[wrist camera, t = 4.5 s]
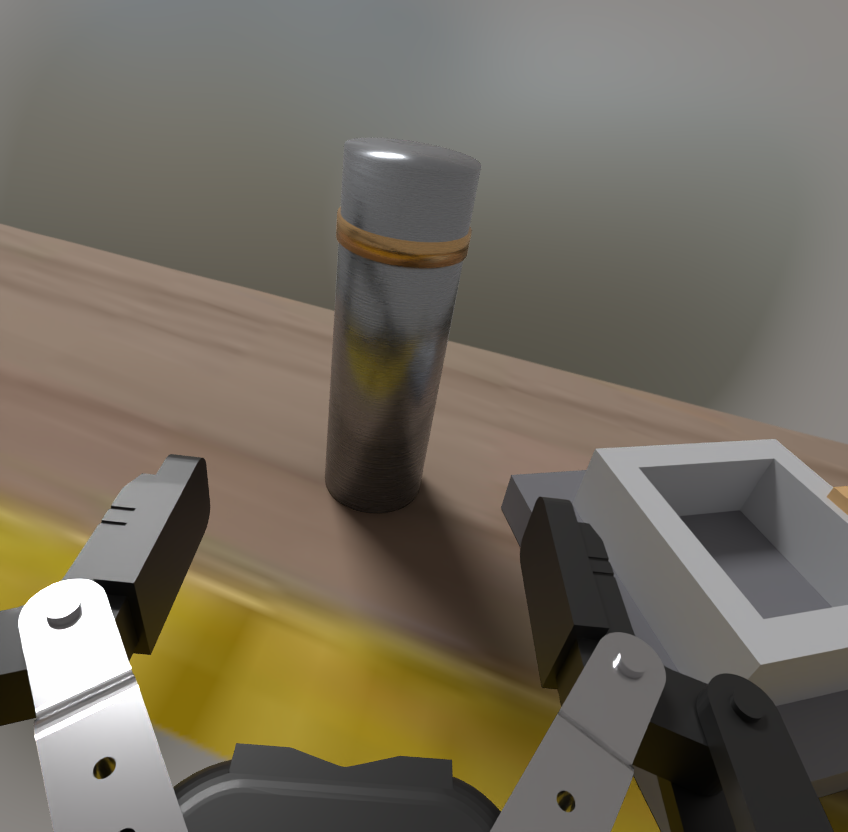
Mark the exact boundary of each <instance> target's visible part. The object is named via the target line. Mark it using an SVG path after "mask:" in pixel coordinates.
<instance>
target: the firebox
mask: <svg viewBox="0 0 848 832" xmlns="http://www.w3.org/2000/svg"><path fill="white" fill-rule="evenodd" d="M538 497H549V498H557V499H566V500H570V501H571V503H572V505H573V508H574V511H575V515H576V518H577V521H578V522H581V523H589V524H590V525H591V526H592V528H593V529H594V530H595V531H596V533H597V534H598V535H599V536H600V538H601V539H602V540H603V543H604V546H605V549H606V552H607V555H608V557H609V562H610V563H611V566H612V569H613V572H614V577H615V578H616V581H617V584H618V587H619V590H620V593H621V596H622V599H623V602H624V605H625V608H626V611H627V614H628V617H629V620H630V623H631V626H632V629H633V631H634V634H635V636H636V637H638V638H639V639H641V640H643V641H644V642H645V643H647V644H648V645H649V646H650V647H651V648H652V649H653V650H654V651H655V652H656V653H657V655H658V656H659V658H660V659H661V661H662V663H663V665H664V666H666V667H668V668H670V669H672V670H674V671H677V672H679V673H682V674H684V675H687V676H689V677H692V678H694V679H697V680H699V681H702V682H704V683H707V684H708V683H709V682H710V680H711V679H712V678H713V677H715V676H716V675H719V674H723V673H729V674H735V675H738V676H741V677H743V678H745V679H747V680H749V681H751V682H752V683H754V684H756V685H757V686H758V687H759V688H761V689H762V690H763V691H764V692H765V693H766V694H767V695H768V696H769V698H770V699H771V700H772V701H773V703H774V704H775V706H776V707H777V709H778V711H779V713H780V715H781V717H782V719H783V722H784V724H785V726H786V728H787V730H788V733H789V735H790V737H791V739H792V741H793V743H794V746H795V748H796V750H797V752H798V754H799V757H800V759H801V761H802V763H803V765H804V768H805V770H806V772H807V774H808V776H809V779H810V781H811V783H812V785H813V787H814V790H815V792H816V794H817V796H818V798H820V797H823V796H826V795H830V794H833V793H836V792H840V791H843V790H846V789H848V486H842V487H834V488H833V487H832V486H830V485H829V484H828V483H827V482H826V481H824V480H823V479H822V478H821V477H820V476H819V475H817V474H816V473H815V472H814V471H813V470H811V469H810V468H809V467H808V466H807V465H805V464H804V463H803V462H802V461H801V460H800V459H798V458H797V457H796V456H795V455H794V454H792V453H791V452H790V451H789V450H788V449H787V448H785V447H784V446H783V445H782V444H781V443H779V442H778V441H777V440H776V439H769V440H750V441H731V442H713V443H694V444H676V445H657V446H638V447H620V448H601V449H595V451H594V453H593V456H592V458H591V461H590V463H589V465H588V468H587V470H581V471H566V472H551V473H536V474H520V475H511V478H510V481H509V484H508V487H507V490H506V494H505V497H504V500H503V503H502V506H501V509H502V511H503V513H504V515H505V517H506V519H507V521H508V523H509V525H510V527H511V529H512V531H513V533H514V535H515V537H516V539H517V541H518V543H519V545H520V547H521V542H522V538H523V535H524V532H525V530H526V527H527V524H528V521H529V519H530V516H531V513H532V511H533V508H534V505H535V502H536V500H537V498H538ZM632 766H633V767H634V774H633V775H634V777H635V779H636V781H637V783H638V785H639V787H640V789H641V791H642V793H643V795H644V798H645V800H646V802H647V804H648V806H649V808H650V810H651V812H652V814H653V816H654V818H655V820H656V822H657V824H658V826H659V828H660V830H661V832H671V831H670V827H669V823H668V819H667V815H666V811H665V807H664V803H663V799H662V795H661V791H660V787H659V783H658V779H657V775H654V774H652V773H650V772H647V771H645V770H643V769H641V768H638V767H636V766H634V765H632Z"/></svg>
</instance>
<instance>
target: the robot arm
mask: <svg viewBox="0 0 848 832" xmlns="http://www.w3.org/2000/svg"><path fill="white" fill-rule="evenodd" d="M209 514H210V498H209V488H208V478H207V467H206V461H205V459H204V458H199V457H191V456H182V455H174V454H170V455H169V456H168V457H167V458H166V459H165V461H164V463H163V464H162V466H161V467H160V469H159V471H158V472H157V474H156V475H151V474H143V473H142V474H141V475H140V476H138V477H137V478H136V479H134V480H133V481H132V482H130V483H129V484H127V485H126V486H125V487H123V488H122V490H121V491H120V493H119V494H118V496H117V498H116V499H115V501H114V502H113V504H112V505H111V509H109V510H108V511H107V513H106V514H105V516H104V517H103V519H102V522H101V524H99V525H98V526H97V528H96V529H95V531H94V532H93V534H92V535H91V537H90V538H89V540H88V541H87V543H86V544H85V546H84V548H83V549H82V551H81V552H80V554H79V555H78V557H77V558H76V560H75V561H74V563H73V564H72V566H71V567H70V569H69V570H68V572H67V573H66V575H65V576H64V578H63V579H62V580H61V582H58V583H55V584H53V585H51V586H49V587H47V588H45V589H43V590H41V591H40V592H39V593H37V594H36V595H35V596H33V597H32V598H31V599H30V600H29V601H28V603H27V604H26V605H24V606H20V607H17V608H13V609H9V610H3V611H0V726H2V725H7V724H11V723H15V722H20V721H24V720H28V719H33V718H37V720H35V721H34V733H35V739H36V745H37V749H38V754H39V760H40V765H41V770H42V775H43V781H44V785H45V790H46V796H47V801H48V806H49V811H50V816H51V821H52V827H53V832H611V829H612V827H613V825H614V822H615V820H616V817H617V815H618V812H619V810H620V807H621V805H622V802H623V800H624V798H625V795H626V793H627V790H628V788H629V785H630V783H631V780H632V777H633V774H634V767H633V766H632V765H634V766H636V767H638V768H641V769H643V770H645V771H647V772H650V773H652V774H654V775H657V779H658V783H659V787H660V791H661V795H662V799H663V803H664V807H665V811H666V815H667V819H668V823H669V827H670V831H671V832H834V831H833V829H832V827H831V825H830V822H829V820H828V818H827V816H826V814H825V812H824V809H823V807H822V805H821V803H820V801H819V798H818V796H817V794H816V792H815V790H814V787H813V785H812V783H811V781H810V779H809V776H808V774H807V772H806V770H805V768H804V765H803V763H802V761H801V759H800V757H799V754H798V752H797V750H796V748H795V746H794V743H793V741H792V739H791V737H790V735H789V733H788V730H787V728H786V726H785V724H784V722H783V719H782V717H781V715H780V713H779V711H778V709H777V707H776V706H775V704H774V703H773V701H772V700H771V699H770V698H769V696H768V695H767V694H766V693H765V692H764V691H763V690H762V689H761V688H759V687H758V686H757V685H756V684H754V683H752V682H751V681H749V680H747V679H745V678H743V677H741V676H738V675H735V674H729V673H723V674H719V675H716V676H715V677H713V678H712V679H711V680H710V682H709V683H708V684H707V683H704V682H702V681H699V680H697V679H694V678H692V677H689V676H687V675H684V674H682V673H679V672H677V671H674V670H672V669H670V668H668V667H666V666H664V665H663V663H662V661H661V659H660V658H659V656H658V655H657V653H656V652H655V651H654V650H653V649H652V648H651V647H650V646H649V645H648V644H647V643H645V642H644V641H643V640H641V639H639V638H638V637H636V636H635V634H634V631H633V629H632V626H631V623H630V620H629V617H628V614H627V611H626V608H625V605H624V602H623V599H622V596H621V593H620V590H619V587H618V584H617V581H616V578H615V577H614V572H613V569H612V566H611V563H610V562H609V557H608V555H607V552H606V549H605V546H604V543H603V540H602V539H601V538H600V536H599V535H598V534H597V533H596V531H595V530H594V529H593V528H592V526H591V525H590V524H589V523H581V522H578V521H577V518H576V515H575V511H574V508H573V505H572V503H571V501H570V500H566V499H557V498H549V497H538V498H537V500H536V502H535V505H534V508H533V511H532V513H531V516H530V519H529V521H528V524H527V527H526V530H525V532H524V535H523V538H522V542H521V548H520V563H521V569H522V575H523V581H524V587H525V593H526V599H527V604H528V610H529V616H530V622H531V628H532V634H533V640H534V645H535V651H536V657H537V663H538V669H539V675H540V681H541V686H542V688H549V689H558V693H559V698H560V703H561V709H560V711H559V712H558V714H557V716H556V717H555V719H554V721H553V723H552V724H551V726H550V728H549V730H548V731H547V733H546V735H545V737H544V738H543V740H542V742H541V744H540V745H539V747H538V749H537V751H536V752H535V754H534V756H533V757H532V759H531V761H530V763H529V764H528V766H527V768H526V770H525V771H524V773H523V775H522V777H521V778H520V780H519V782H518V784H517V785H516V787H515V789H514V790H513V792H512V794H511V796H510V797H509V799H508V801H507V803H506V804H505V806H504V808H503V810H502V811H501V812H500V810H499V809H498V808H497V807H496V806H495V805H494V804H493V803H492V802H491V801H490V800H489V799H488V798H487V797H486V796H485V795H484V794H482V793H481V792H479V791H478V790H477V789H475V788H474V787H473V786H471V785H469V784H467V783H465V782H464V781H462V780H460V779H457V778H455V777H452V760H446V759H433V758H420V757H407V756H398V757H393V758H388V759H384V760H379V761H374V762H369V763H365V764H360V765H355V766H350V767H341V766H338V765H335V764H333V763H330V762H327V761H325V760H322V759H319V758H317V757H314V756H312V755H309V754H306V753H304V752H301V751H298V750H296V749H293V748H290V747H277V746H264V745H252V744H239V743H236V747H235V750H234V754H233V758H232V760H229V761H224V762H221V763H218V764H215V765H212V766H209V767H207V768H205V769H202V770H201V771H198V772H196V773H194V774H192V775H191V776H189V777H188V778H186V779H184V780H183V781H181V782H180V783H178V784H177V785H176V786H174V787H173V786H172V783H171V780H170V777H169V775H168V772H167V769H166V766H165V763H164V760H163V757H162V754H161V752H160V748H159V745H158V742H157V740H156V737H155V734H154V731H153V728H152V725H151V722H150V719H149V716H148V713H147V710H146V707H145V704H144V702H143V699H142V696H141V693H140V690H139V687H138V684H137V681H136V679H135V676H134V674H133V673H132V670H131V667H130V664H129V661H130V659H131V656H132V654H133V653H136V654H147V655H151V653H152V651H153V648H154V646H155V644H156V642H157V639H158V637H159V635H160V633H161V630H162V628H163V626H164V623H165V621H166V619H167V617H168V614H169V612H170V610H171V608H172V605H173V603H174V601H175V599H176V596H177V594H178V592H179V589H180V587H181V585H182V583H183V580H184V578H185V576H186V574H187V571H188V569H189V567H190V565H191V562H192V560H193V558H194V555H195V553H196V551H197V549H198V546H199V544H200V542H201V540H202V537H203V535H204V533H205V530H206V528H207V524H208V520H209Z"/></svg>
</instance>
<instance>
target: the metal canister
mask: <svg viewBox="0 0 848 832" xmlns="http://www.w3.org/2000/svg"><path fill="white" fill-rule="evenodd" d="M480 170H481V164H480V162H479V161H477V160H476V159H474V158H472V157H470V156H468V155H466V154H463V153H460V152H457V151H454V150H450V149H447V148H443V147H439V146H435V145H430V144H425V143H420V142H414V141H407V140H399V139H389V138H356V139H351V140H348V141H346V142H345V144H344V160H343V177H342V195H341V207H340V208H339V209H338V212H337V229H336V238H337V240H338V242H339V247H338V262H337V280H336V297H335V314H334V331H333V348H332V365H331V382H330V399H329V417H328V434H327V451H326V468H325V483H326V486H327V488H328V490H329V492H330V493H331V495H332V496H333V497H334V498H335V499H336V500H338V501H339V502H340V503H342V504H343V505H345V506H347V507H349V508H352V509H355V510H358V511H362V512H368V513H385V512H391V511H395V510H398V509H400V508H402V507H404V506H406V505H407V504H409V503H410V502H411V501H412V500H413V499H414V498H415V497H416V495H417V493H418V491H419V488H420V483H421V478H422V472H423V467H424V462H425V457H426V452H427V446H428V441H429V436H430V431H431V425H432V420H433V415H434V410H435V405H436V399H437V394H438V389H439V384H440V378H441V373H442V368H443V363H444V358H445V352H446V347H447V342H448V337H449V331H450V326H451V321H452V316H453V311H454V305H455V300H456V295H457V290H458V284H459V279H460V274H461V269H462V264H463V260H464V259H465V258H466V256H467V253H468V248H469V242H470V237H471V231H472V230H471V227H470V222H471V217H472V211H473V206H474V201H475V196H476V190H477V185H478V180H479V175H480Z"/></svg>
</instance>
